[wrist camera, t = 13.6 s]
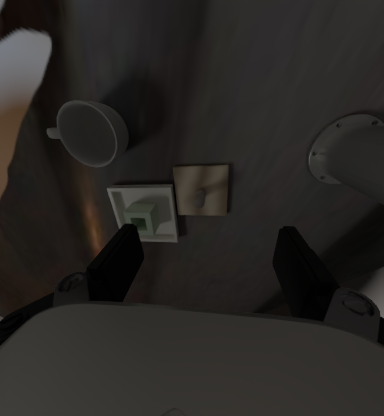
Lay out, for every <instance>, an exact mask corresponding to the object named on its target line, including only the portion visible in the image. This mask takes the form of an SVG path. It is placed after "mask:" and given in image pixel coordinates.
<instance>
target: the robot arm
mask: <svg viewBox="0 0 384 416" xmlns="http://www.w3.org/2000/svg"><path fill="white" fill-rule="evenodd" d="M336 125H337V126H336ZM313 152H314V153H313ZM312 153H313V154H312ZM307 166H308V169H309V171H310V173H311V174H312V176H314V177H315V178H316V179H317V180H319V181H321V182H324V183H327V184H345V185H347V186H349V187H351V188H353V189H355V190H357V191H359V192H361V193H362V194H364V195H366V196H368V197H370V198H372V199H374V200H376V201H378V202H380V203H382V204H384V123H383V122H382V121H381V120H380V119H378V118H377V117H375V116H372V115H368V114H354V115H349V116H345V117H342V118H340V119H337V120H336V121H334V122H332V123H331V124H329V125H328V126H326V127H325V128H324V129H323V130H322V131H321V132H320V133H319V134H318V135H317V136H316V138H315V139H314V141H313V142H312V144H311V146H310V148H309V151H308V155H307ZM143 260H144V253H143V249H142V245H141V241H140V237H139V233H138V229H137V226H135V225H134V224H130V223H125V224H124V225H123V226H122V227H121V228H120V229H119V231H118V232H117V233H116V234H115V235H114V236H113V238H112V239H111V240H110V241H109V242H108V244H107V245H106V246H105V247H104V248H103V249H102V251H101V252H100V253H99V254H98V255H97V256H96V258H95V259H94V260H93V261H92V262H91V264H90V265H89V266H88V267H87V271H86V272H85V273H84V272H74V273H71V274H69V275H67V276H65V277H64V278H63V279H61V280H60V281H59V282H58V283H57V285H56V286H55V290H54V292H53V293H51V294H49V295H47V296H45V297H43V298H41V299H39V300H37V301H35V302H33V303H31V304H28V305H26V306H24V307H22V308H20V309H18V310H16V311H14V312H12V313H11V314H9V315H8V316H6V317H5V318H3V319H2V320H1V321H0V416H384V318H382V317H380V311H379V309H378V307H377V306H376V305H375V303H374V302H373V301H372V300H370V299H369V298H368V297H366V296H365V295H363V294H361V293H359V292H358V291H355V290H353V289H349V288H340V286H339V285H338V283H337V282H336V281H335V279H334V278H333V277H332V275H331V274H330V272H329V271H328V270H327V268H326V267H325V266H324V264H323V263H322V262H321V260H320V259H319V257H318V256H317V255H316V253H315V252H314V251H313V250H312V249H310V247H309V246H308V244H307V243H306V242H305V240H304V239H303V237H302V236H301V235H300V233H299V232H298V231H297V229H296V228H295V227H293V226H284V227H283V228H282V229H280V230H279V234H278V239H277V243H276V248H275V252H274V257H273V267H274V270H275V272H276V275H277V278H278V280H279V283H280V285H281V288H282V290H283V293H284V296H285V298H286V301H287V303H288V306H289V309H290V311H291V314H292V316H293V317H286V316H278V315H268V314H257V313H246V312H235V311H224V310H213V309H201V308H189V307H177V306H165V305H152V304H139V303H127V302H123V300H124V298H125V296H126V294H127V292H128V290H129V288H130V286H131V284H132V282H133V280H134V278H135V276H136V274H137V272H138V270H139V268H140V266H141V264H142V262H143Z"/></svg>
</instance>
